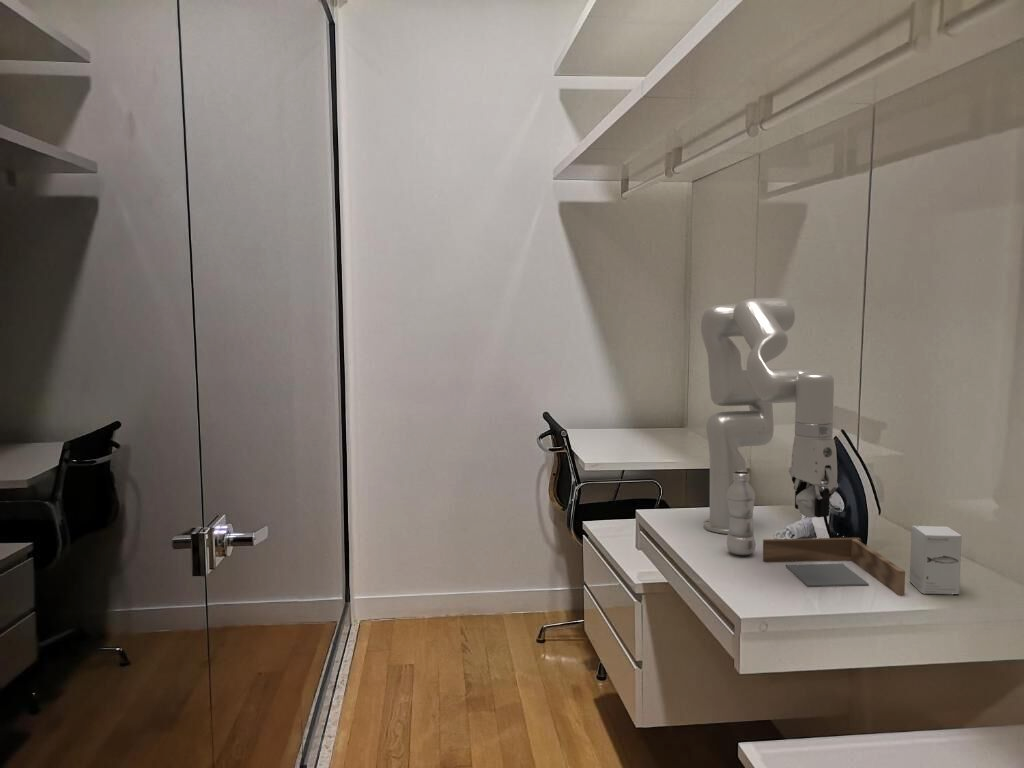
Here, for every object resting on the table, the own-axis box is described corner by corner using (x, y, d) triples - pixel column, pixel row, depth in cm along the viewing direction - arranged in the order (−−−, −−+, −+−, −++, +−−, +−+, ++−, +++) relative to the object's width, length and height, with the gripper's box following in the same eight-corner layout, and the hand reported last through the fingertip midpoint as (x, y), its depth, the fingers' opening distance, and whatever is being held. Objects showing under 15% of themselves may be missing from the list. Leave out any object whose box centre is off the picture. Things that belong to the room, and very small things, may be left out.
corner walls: (763, 560, 182) (763, 539, 181) (858, 558, 182) (858, 537, 181) (800, 597, 158) (800, 573, 158) (909, 594, 158) (910, 571, 158)
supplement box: (921, 594, 158) (923, 534, 157) (908, 582, 166) (910, 524, 164) (960, 596, 157) (962, 535, 156) (945, 583, 165) (947, 525, 163)
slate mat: (785, 566, 177) (785, 564, 177) (842, 565, 177) (842, 563, 177) (807, 586, 164) (807, 585, 164) (868, 585, 164) (868, 583, 164)
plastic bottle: (756, 559, 183) (757, 475, 181) (727, 557, 184) (727, 475, 182) (754, 550, 189) (754, 470, 187) (725, 549, 190) (725, 469, 188)
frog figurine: (834, 520, 165) (834, 488, 164) (803, 522, 164) (803, 489, 163) (818, 512, 171) (819, 481, 170) (789, 514, 170) (789, 483, 169)
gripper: (856, 435, 158) (853, 521, 160) (804, 423, 174) (802, 501, 176) (824, 438, 156) (821, 525, 158) (774, 425, 172) (773, 503, 174)
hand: (811, 511), depth 167 cm, fingers closed on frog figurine, 6 cm apart
